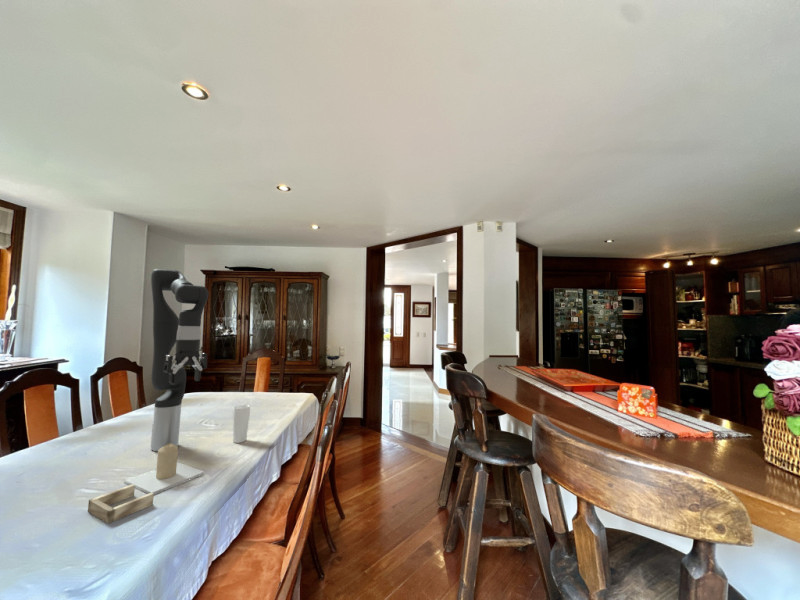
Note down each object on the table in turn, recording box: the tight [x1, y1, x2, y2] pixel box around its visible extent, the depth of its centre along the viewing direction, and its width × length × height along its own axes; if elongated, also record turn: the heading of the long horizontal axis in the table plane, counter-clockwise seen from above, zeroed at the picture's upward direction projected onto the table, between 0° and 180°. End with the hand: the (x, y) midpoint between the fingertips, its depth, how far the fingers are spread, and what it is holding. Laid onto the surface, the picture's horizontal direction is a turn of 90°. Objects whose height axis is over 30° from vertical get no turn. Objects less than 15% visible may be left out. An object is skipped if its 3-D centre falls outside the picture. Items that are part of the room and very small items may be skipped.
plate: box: [123, 461, 205, 495], centre depth 108 cm, size 16×16×1 cm
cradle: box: [87, 484, 155, 524], centre depth 90 cm, size 10×11×3 cm
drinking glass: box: [232, 404, 251, 444], centre depth 144 cm, size 7×7×15 cm
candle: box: [155, 443, 179, 479], centre depth 108 cm, size 6×6×10 cm
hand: (185, 382), depth 119 cm, fingers open, 8 cm apart
